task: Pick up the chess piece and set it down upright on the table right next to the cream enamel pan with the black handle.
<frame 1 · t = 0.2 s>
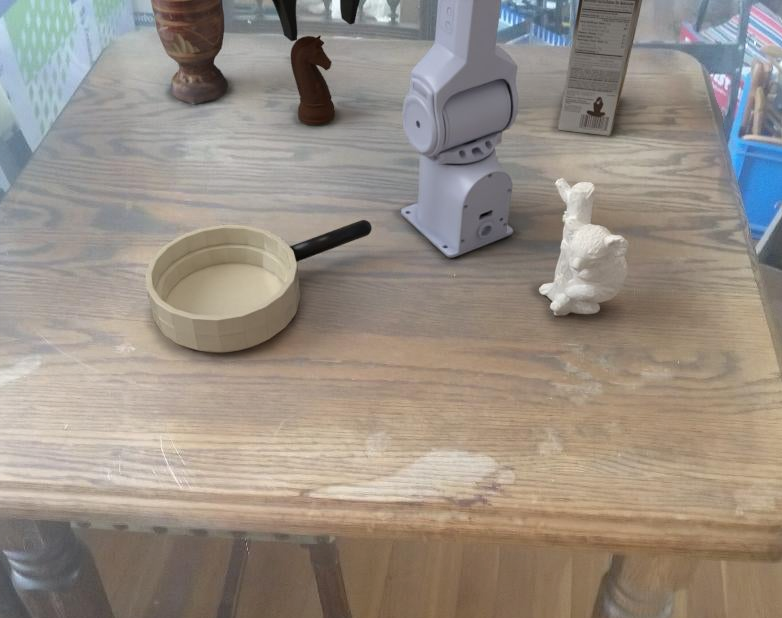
hand: (319, 29, 100), 10 cm above the table, tool pointing down, fingers open, 7 cm apart
koala figurine: (571, 305, 81), on the table
pan handle: (328, 241, 84), point 3 cm above the table
chess piece: (315, 118, 107), on the table
pan: (227, 306, 83), on the table
coffee box: (588, 116, 104), on the table
painted clay vase: (196, 86, 114), on the table
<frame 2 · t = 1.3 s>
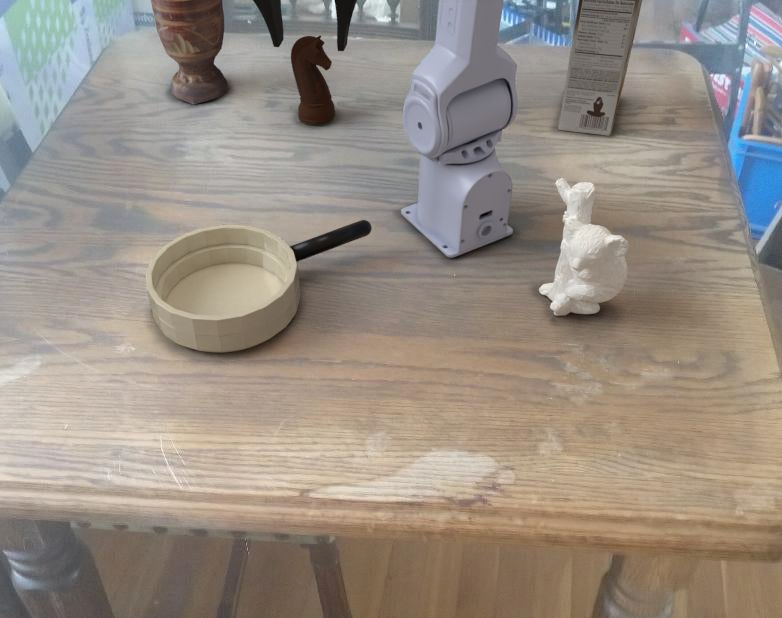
hand: (310, 45, 100), 9 cm above the table, tool pointing down, fingers open, 7 cm apart
nothing on the table moved.
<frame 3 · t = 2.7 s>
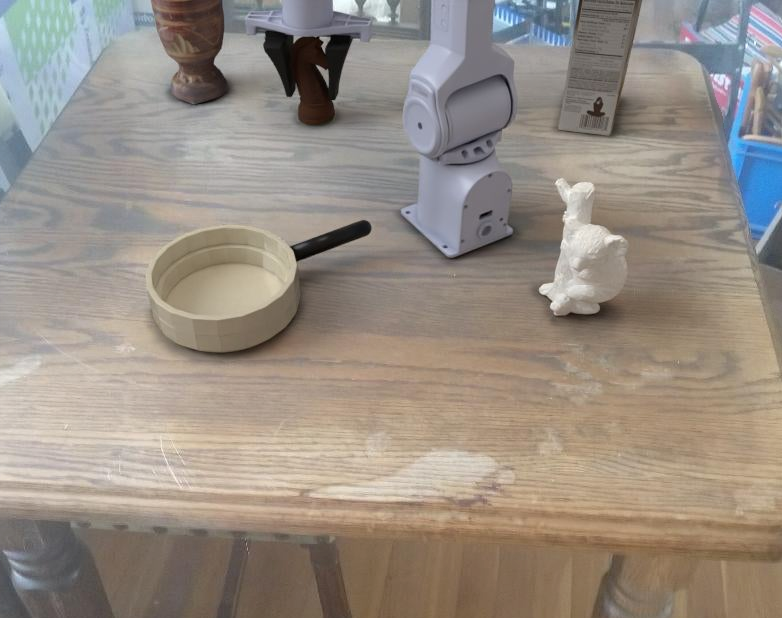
hand: (312, 94, 105), 3 cm above the table, tool pointing down, fingers closed on chess piece, 5 cm apart
chess piece: (315, 118, 107), on the table, touching gripper
everything else where it was.
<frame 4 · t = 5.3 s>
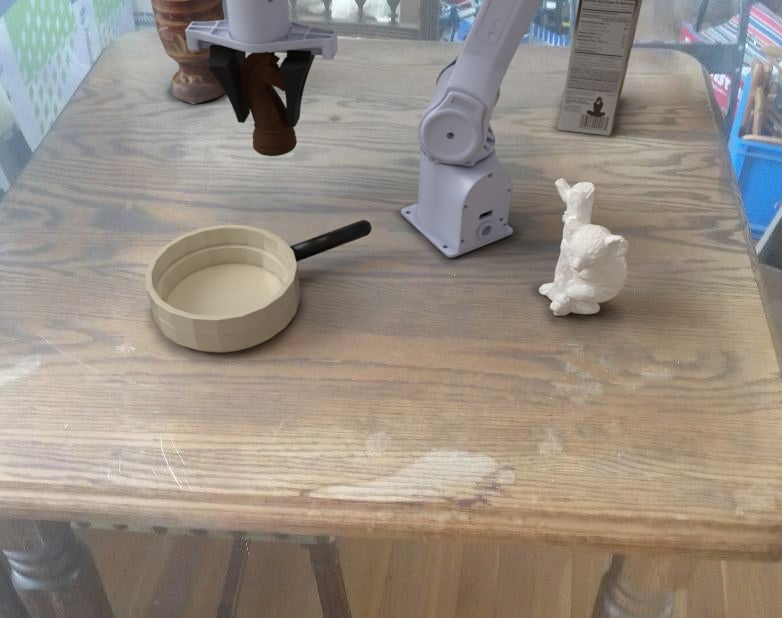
hand: (269, 119, 88), 9 cm above the table, tool pointing down, fingers closed on chess piece, 5 cm apart
chess piece: (273, 146, 91), point 6 cm above the table, touching gripper
everything else where it was.
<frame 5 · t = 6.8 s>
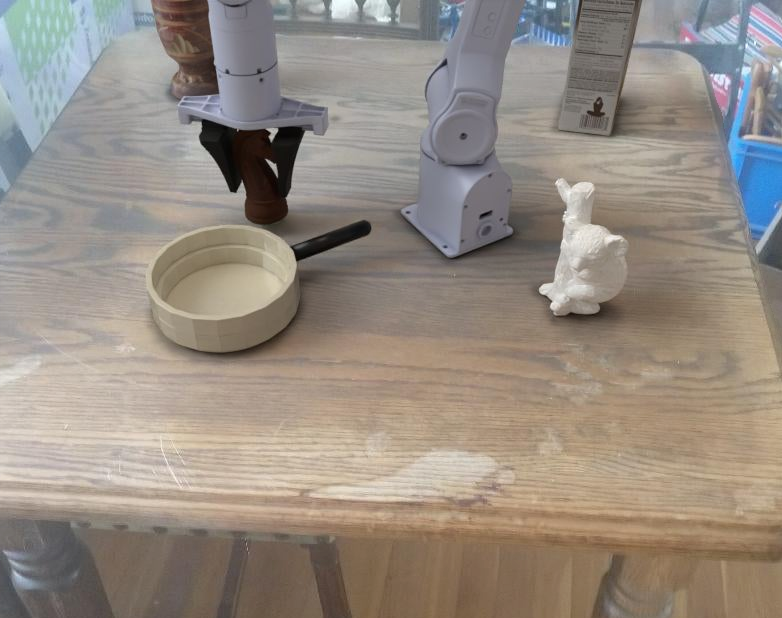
hand: (261, 189, 89), 4 cm above the table, tool pointing down, fingers closed on chess piece, 5 cm apart
chess piece: (264, 214, 91), point 1 cm above the table, touching gripper
everything else where it was.
when the fingers open (3 cm above the table, at t = 7.8 s): chess piece stays where it is, on the table.
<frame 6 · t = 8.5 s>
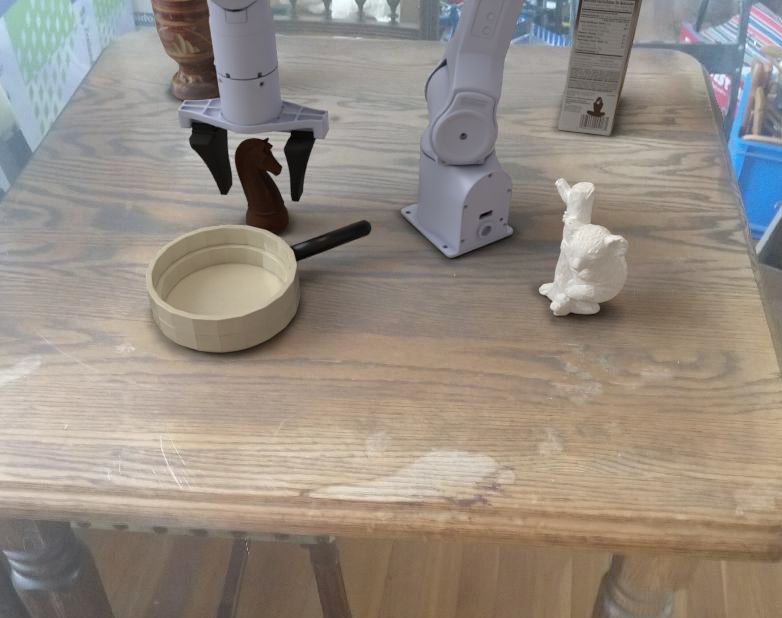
hand: (261, 192, 89), 4 cm above the table, tool pointing down, fingers open, 7 cm apart
chess piece: (266, 225, 92), on the table
everything else where it was.
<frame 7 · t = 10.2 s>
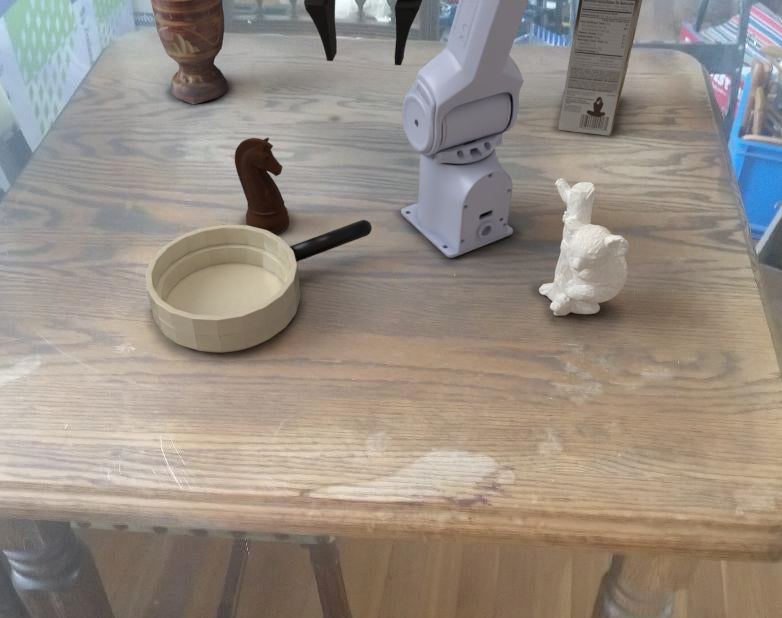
hand: (365, 59, 96), 9 cm above the table, tool pointing down, fingers open, 7 cm apart
nothing on the table moved.
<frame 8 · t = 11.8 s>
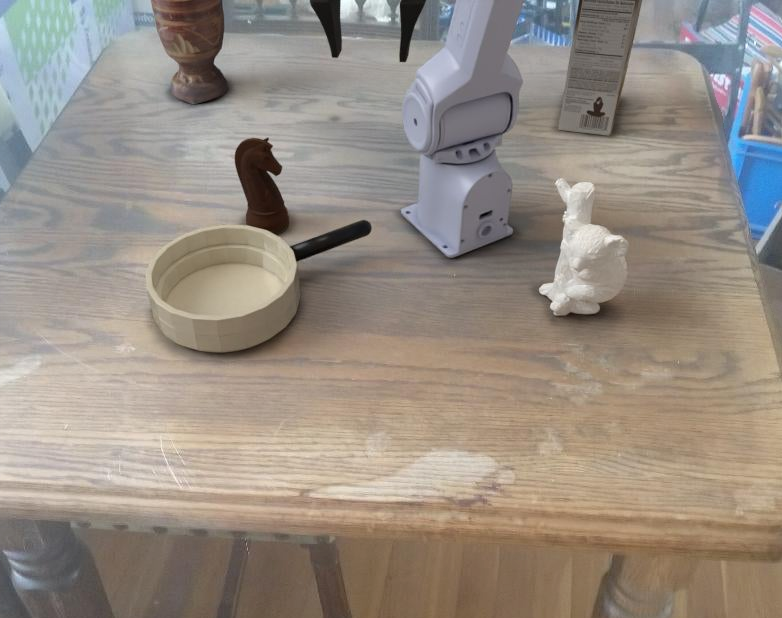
hand: (370, 56, 97), 9 cm above the table, tool pointing down, fingers open, 7 cm apart
nothing on the table moved.
at the end: chess piece 13.6 cm from the pan (horizontally); chess piece touching table; chess piece tilted 0° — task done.
